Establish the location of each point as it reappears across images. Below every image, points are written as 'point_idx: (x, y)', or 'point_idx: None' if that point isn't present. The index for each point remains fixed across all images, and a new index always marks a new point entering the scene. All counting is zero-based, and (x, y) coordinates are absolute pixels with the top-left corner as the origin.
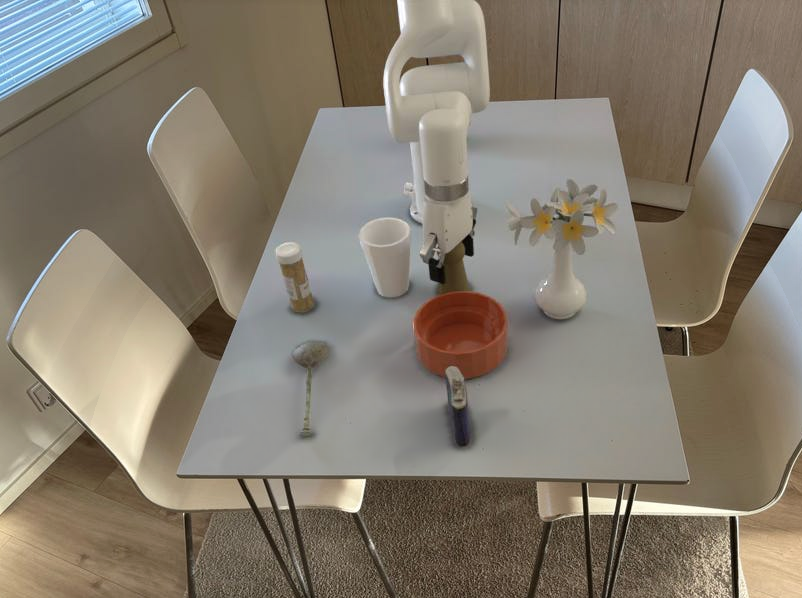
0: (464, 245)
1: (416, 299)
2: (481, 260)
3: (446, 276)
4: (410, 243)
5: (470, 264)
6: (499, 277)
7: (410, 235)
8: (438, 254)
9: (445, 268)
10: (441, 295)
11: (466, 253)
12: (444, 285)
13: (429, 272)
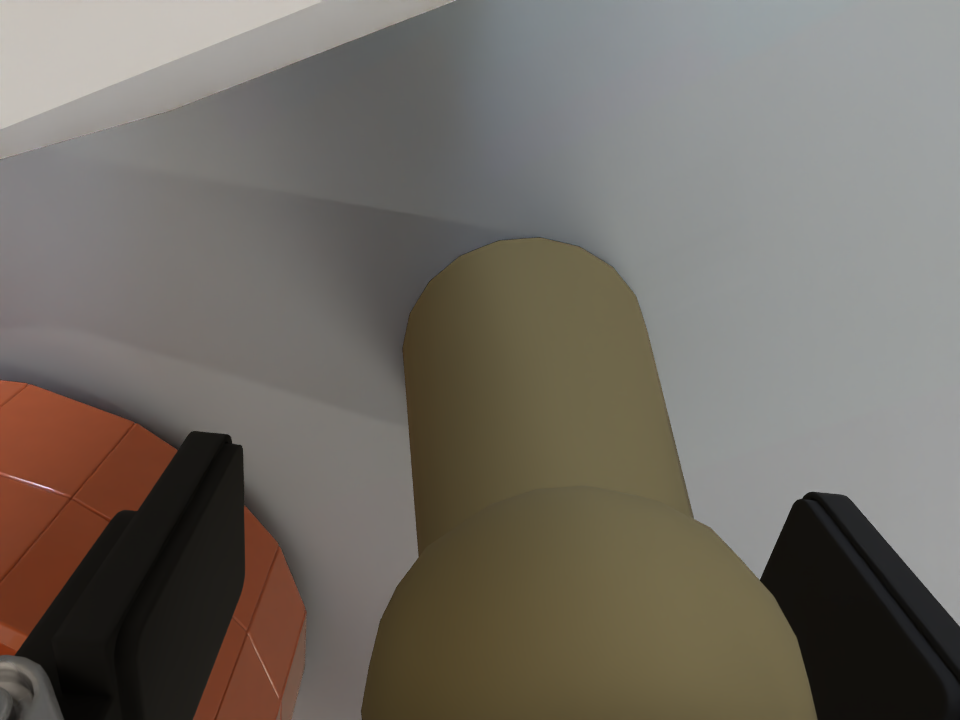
0: (834, 667)
1: (292, 117)
2: (935, 400)
3: (413, 479)
4: (284, 64)
5: (875, 345)
6: (747, 559)
7: (408, 2)
8: (399, 629)
9: (421, 532)
10: (13, 640)
11: (774, 596)
12: (409, 397)
13: (149, 495)
